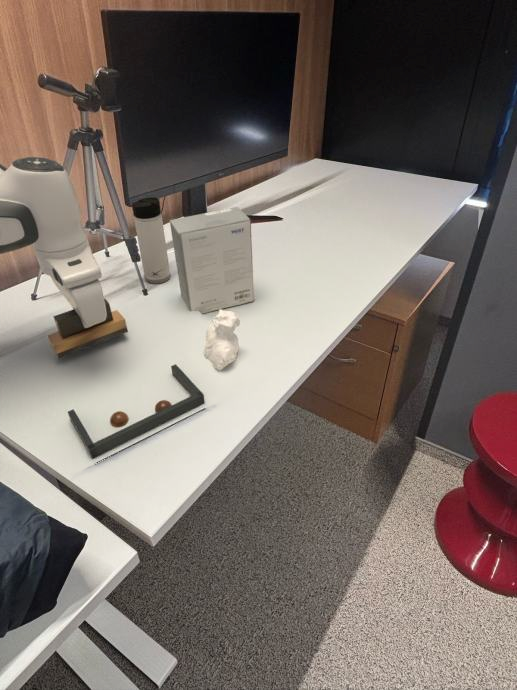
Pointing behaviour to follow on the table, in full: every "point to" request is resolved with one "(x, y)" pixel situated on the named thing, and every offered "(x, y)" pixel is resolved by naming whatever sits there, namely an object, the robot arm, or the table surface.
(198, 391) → the catcher
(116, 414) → the brown chestnut
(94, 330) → the brush
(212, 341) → the bust
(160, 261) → the travel mug
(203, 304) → the hard drive box
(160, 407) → the brown ball
